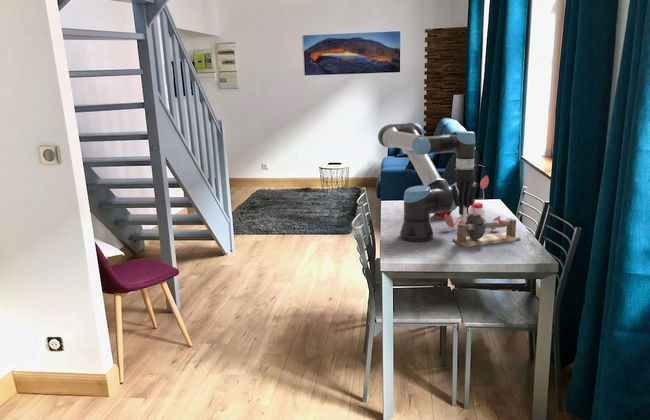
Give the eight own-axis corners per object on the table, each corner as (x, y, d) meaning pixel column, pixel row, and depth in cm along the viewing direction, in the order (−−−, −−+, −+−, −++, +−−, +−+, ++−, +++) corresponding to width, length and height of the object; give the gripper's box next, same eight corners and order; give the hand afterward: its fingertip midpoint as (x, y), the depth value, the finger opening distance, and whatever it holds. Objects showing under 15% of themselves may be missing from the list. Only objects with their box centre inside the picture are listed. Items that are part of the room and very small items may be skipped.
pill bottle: (466, 226, 257) (467, 204, 255) (469, 222, 264) (470, 201, 262) (482, 228, 254) (483, 206, 251) (485, 224, 261) (486, 202, 258)
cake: (447, 221, 269) (448, 186, 265) (430, 219, 274) (431, 185, 270) (454, 216, 278) (455, 182, 274) (437, 214, 283) (438, 181, 279)
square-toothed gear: (478, 242, 228) (479, 217, 225) (465, 235, 238) (465, 212, 235) (484, 241, 228) (485, 217, 226) (470, 234, 239) (471, 211, 236)
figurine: (500, 183, 264) (499, 243, 246) (447, 180, 271) (443, 239, 253) (503, 164, 252) (502, 226, 234) (448, 162, 258) (443, 223, 240)
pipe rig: (464, 246, 227) (465, 227, 225) (452, 240, 236) (453, 221, 234) (520, 240, 234) (521, 221, 232) (506, 234, 243) (507, 215, 241)
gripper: (455, 170, 219) (454, 225, 224) (483, 168, 222) (481, 222, 228) (447, 167, 226) (445, 220, 231) (473, 165, 229) (471, 218, 235)
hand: (463, 221), depth 230 cm, fingers closed
